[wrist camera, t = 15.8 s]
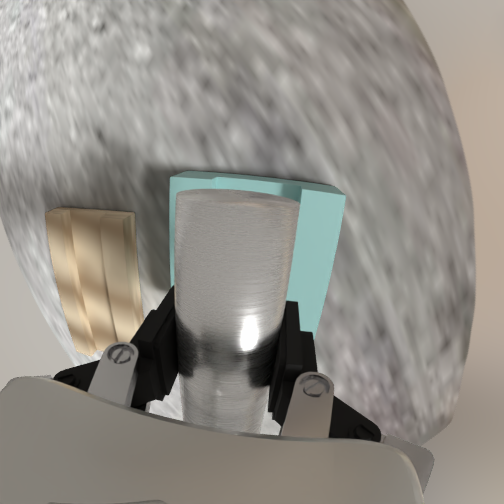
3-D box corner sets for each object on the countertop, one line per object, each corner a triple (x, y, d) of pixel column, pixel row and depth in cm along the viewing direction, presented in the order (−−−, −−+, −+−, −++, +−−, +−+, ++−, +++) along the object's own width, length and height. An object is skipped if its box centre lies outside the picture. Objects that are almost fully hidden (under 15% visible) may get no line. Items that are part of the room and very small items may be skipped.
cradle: (310, 313, 26) (314, 339, 22) (186, 297, 27) (173, 320, 23) (335, 186, 22) (346, 195, 18) (187, 170, 22) (170, 176, 19)
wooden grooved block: (150, 359, 31) (143, 372, 29) (85, 341, 31) (76, 351, 29) (134, 212, 24) (122, 219, 22) (58, 207, 24) (44, 213, 22)
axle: (262, 410, 15) (254, 465, 11) (195, 398, 15) (175, 449, 11) (298, 196, 11) (303, 215, 7) (198, 186, 11) (154, 199, 7)
